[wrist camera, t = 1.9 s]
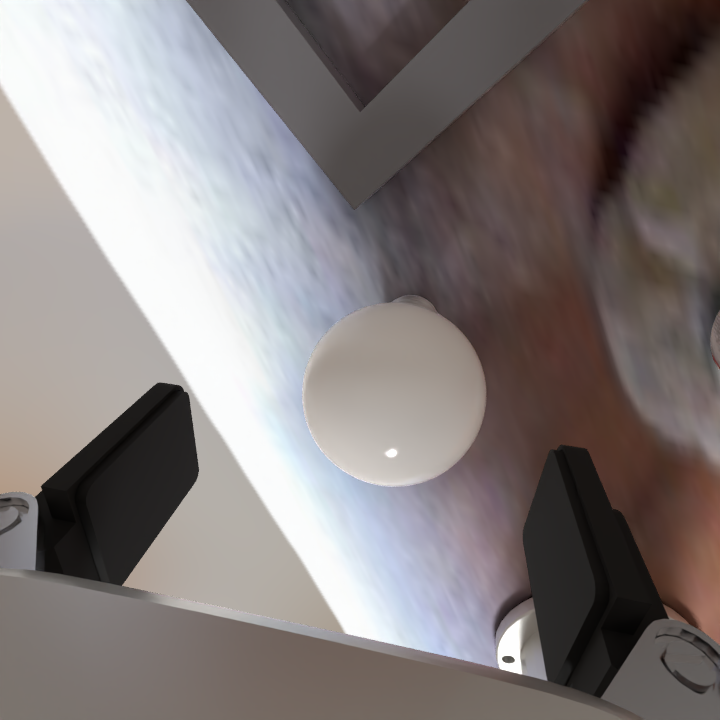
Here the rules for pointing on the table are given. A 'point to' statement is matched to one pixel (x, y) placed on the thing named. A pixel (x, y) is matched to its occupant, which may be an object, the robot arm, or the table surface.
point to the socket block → (397, 99)
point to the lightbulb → (394, 393)
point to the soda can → (716, 340)
